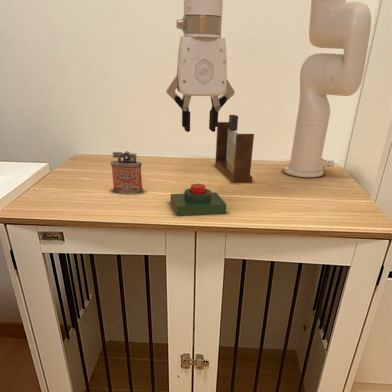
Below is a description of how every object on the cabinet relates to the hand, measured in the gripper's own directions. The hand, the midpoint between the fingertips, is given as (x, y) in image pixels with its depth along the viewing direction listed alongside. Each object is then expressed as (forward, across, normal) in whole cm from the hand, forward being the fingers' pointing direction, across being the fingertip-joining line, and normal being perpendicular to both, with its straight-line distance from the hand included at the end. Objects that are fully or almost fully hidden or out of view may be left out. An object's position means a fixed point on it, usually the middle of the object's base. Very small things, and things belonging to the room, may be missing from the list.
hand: (199, 129), depth 92 cm
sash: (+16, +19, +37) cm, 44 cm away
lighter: (+18, -16, +16) cm, 29 cm away
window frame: (+17, +19, +32) cm, 41 cm away
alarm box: (+17, 0, 0) cm, 17 cm away
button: (+14, 0, 0) cm, 14 cm away
